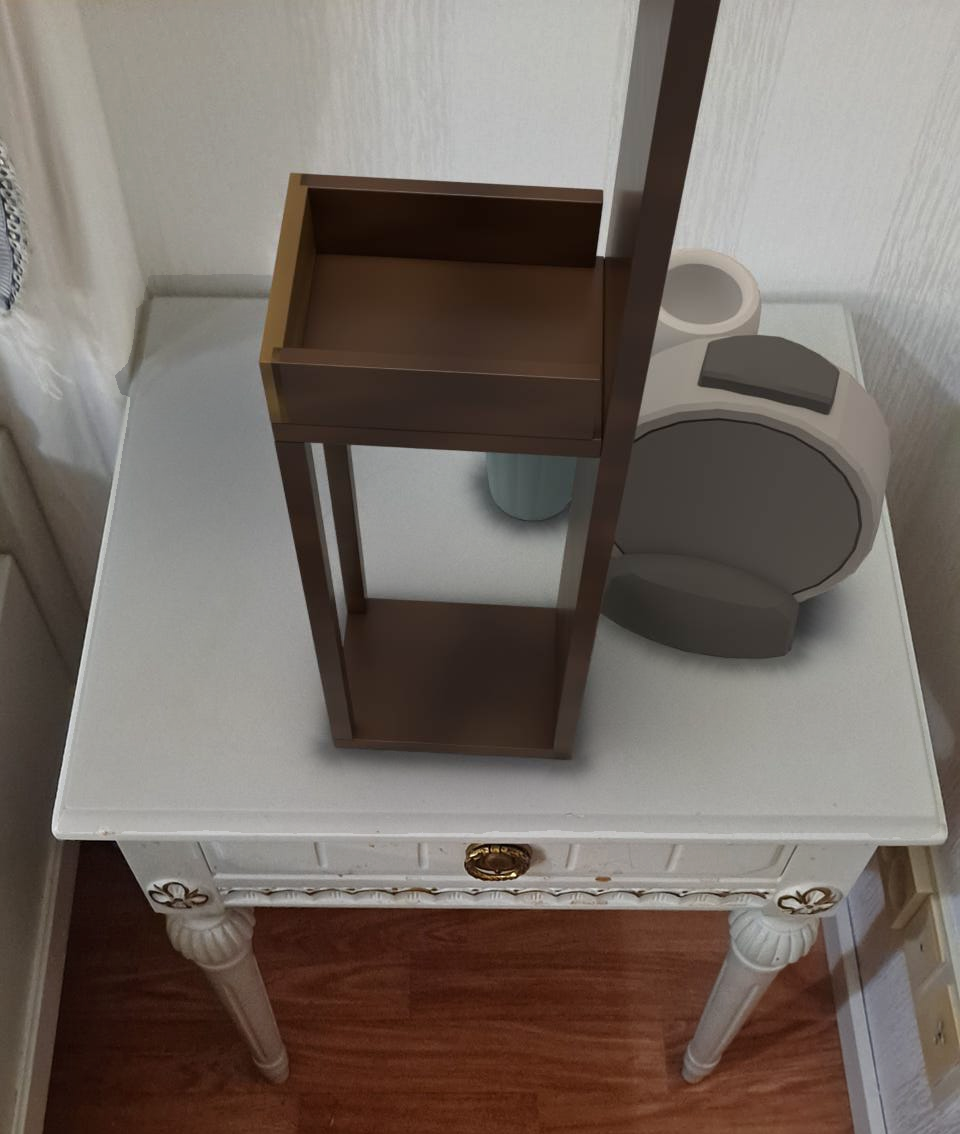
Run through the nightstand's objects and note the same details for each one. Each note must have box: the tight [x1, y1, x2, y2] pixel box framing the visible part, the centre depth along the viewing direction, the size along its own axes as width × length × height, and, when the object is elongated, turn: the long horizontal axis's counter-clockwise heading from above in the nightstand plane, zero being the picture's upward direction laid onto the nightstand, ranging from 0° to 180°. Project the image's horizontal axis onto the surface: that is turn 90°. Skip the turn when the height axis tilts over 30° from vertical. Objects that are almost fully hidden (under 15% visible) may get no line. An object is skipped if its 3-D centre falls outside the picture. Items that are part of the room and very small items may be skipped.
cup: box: [484, 452, 577, 521], centre depth 72 cm, size 8×8×10 cm
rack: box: [258, 0, 722, 761], centre depth 51 cm, size 14×10×42 cm
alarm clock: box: [600, 334, 892, 659], centre depth 65 cm, size 16×10×18 cm, turn 74°
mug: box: [650, 247, 763, 358], centre depth 76 cm, size 12×8×8 cm
